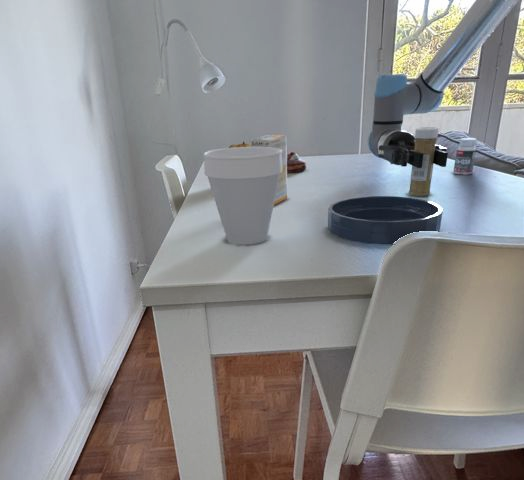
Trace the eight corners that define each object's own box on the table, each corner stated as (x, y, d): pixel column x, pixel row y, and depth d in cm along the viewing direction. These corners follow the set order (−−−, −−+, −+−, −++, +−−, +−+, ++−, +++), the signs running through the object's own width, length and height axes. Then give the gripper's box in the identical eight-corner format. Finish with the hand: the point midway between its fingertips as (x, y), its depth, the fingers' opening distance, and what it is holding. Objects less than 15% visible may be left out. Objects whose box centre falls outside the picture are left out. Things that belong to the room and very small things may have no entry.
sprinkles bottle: (434, 194, 103) (443, 127, 97) (420, 197, 101) (429, 129, 95) (417, 191, 107) (425, 126, 100) (403, 194, 105) (411, 128, 98)
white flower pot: (288, 247, 74) (287, 154, 67) (210, 252, 73) (201, 158, 67) (279, 227, 85) (277, 145, 78) (211, 230, 84) (203, 148, 77)
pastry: (290, 168, 143) (289, 150, 140) (311, 169, 139) (312, 151, 136) (275, 172, 137) (275, 153, 134) (298, 173, 133) (298, 154, 131)
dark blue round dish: (416, 215, 88) (418, 193, 86) (457, 244, 72) (461, 218, 70) (319, 220, 88) (320, 198, 86) (340, 250, 72) (341, 224, 70)
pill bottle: (450, 174, 124) (456, 139, 120) (455, 171, 128) (461, 137, 123) (469, 175, 122) (475, 140, 118) (474, 172, 125) (480, 138, 121)
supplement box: (268, 197, 107) (266, 134, 100) (288, 198, 105) (287, 134, 99) (252, 205, 101) (248, 138, 94) (272, 207, 99) (270, 139, 92)
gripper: (429, 161, 118) (471, 177, 98) (361, 165, 117) (389, 181, 97) (434, 128, 114) (478, 138, 94) (363, 132, 114) (392, 142, 93)
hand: (432, 160), depth 95 cm, fingers closed on sprinkles bottle, 4 cm apart
